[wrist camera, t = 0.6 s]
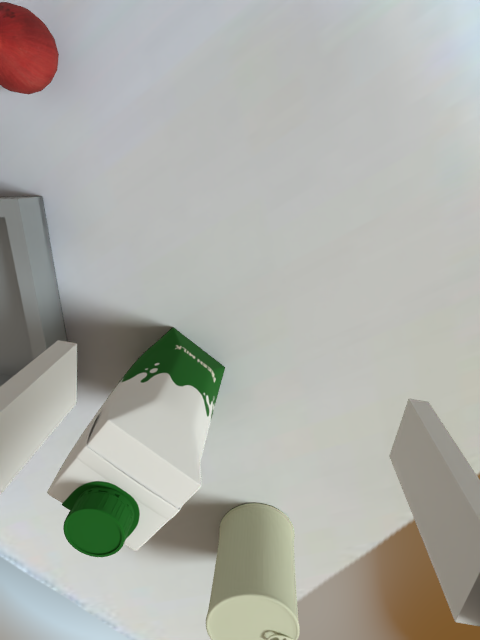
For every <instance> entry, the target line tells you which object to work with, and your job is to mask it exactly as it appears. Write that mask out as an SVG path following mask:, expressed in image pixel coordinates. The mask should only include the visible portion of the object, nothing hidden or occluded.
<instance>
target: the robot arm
mask: <svg viewBox="0 0 480 640" xmlns="http://www.w3.org/2000/svg"><path fill="white" fill-rule="evenodd" d="M76 403H77V343H72V342H66V341H60V340H58V341H57V342H55V343H54V344H53V345H52V346H50V347H49V348H48V349H47V350H45V351H44V352H43V353H42V354H40V355H39V356H38V357H37V358H35V359H34V360H33V361H32V362H30V363H29V364H28V365H27V366H25V367H24V368H23V369H22V370H20V371H19V372H18V373H17V374H16V375H14V376H13V377H12V378H11V379H9V380H8V381H7V382H6V383H4V384H3V385H2V386H1V387H0V495H1V493H2V492H3V491H4V490H5V489H6V487H7V486H8V485H9V484H10V483H11V481H12V480H13V479H14V478H15V477H16V475H17V474H18V473H19V472H20V471H21V469H22V468H23V467H24V466H25V465H26V463H27V462H28V461H29V460H30V459H31V457H32V456H33V455H34V454H35V453H36V451H37V450H38V449H39V448H40V447H41V445H42V444H43V443H44V442H45V441H46V439H47V438H48V437H49V436H50V435H51V433H52V432H53V431H54V430H55V429H56V427H57V426H58V425H59V424H60V423H61V421H62V420H63V419H64V418H65V417H66V415H67V414H68V413H69V412H70V411H71V409H72V408H73V407H74V406H75V405H76ZM390 459H391V461H392V464H393V466H394V469H395V471H396V474H397V476H398V479H399V481H400V484H401V486H402V489H403V491H404V494H405V497H406V499H407V502H408V504H409V507H410V509H411V512H412V514H413V517H414V519H415V522H416V524H417V527H418V529H419V532H420V534H421V537H422V539H423V542H424V544H425V547H426V549H427V552H428V554H429V557H430V559H431V562H432V564H433V567H434V569H435V572H436V574H437V577H438V579H439V582H440V584H441V587H442V589H443V592H444V594H445V597H446V599H447V602H448V605H449V607H450V610H451V612H452V614H453V617H454V620H455V622H459V623H464V624H471V625H476V626H480V480H479V478H478V477H477V475H476V474H475V472H474V471H473V469H472V468H471V466H470V465H469V463H468V461H467V460H466V458H465V457H464V455H463V454H462V452H461V451H460V449H459V448H458V446H457V445H456V443H455V442H454V440H453V439H452V437H451V436H450V434H449V432H448V431H447V429H446V428H445V426H444V425H443V423H442V422H441V420H440V419H439V417H438V416H437V414H436V413H435V411H434V410H433V408H432V407H431V405H430V403H429V402H426V401H420V400H414V399H408V402H407V405H406V408H405V411H404V414H403V417H402V420H401V423H400V426H399V429H398V432H397V435H396V438H395V441H394V444H393V447H392V450H391V453H390Z"/></svg>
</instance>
